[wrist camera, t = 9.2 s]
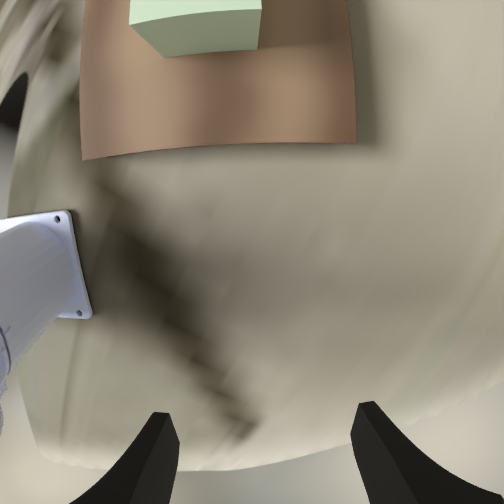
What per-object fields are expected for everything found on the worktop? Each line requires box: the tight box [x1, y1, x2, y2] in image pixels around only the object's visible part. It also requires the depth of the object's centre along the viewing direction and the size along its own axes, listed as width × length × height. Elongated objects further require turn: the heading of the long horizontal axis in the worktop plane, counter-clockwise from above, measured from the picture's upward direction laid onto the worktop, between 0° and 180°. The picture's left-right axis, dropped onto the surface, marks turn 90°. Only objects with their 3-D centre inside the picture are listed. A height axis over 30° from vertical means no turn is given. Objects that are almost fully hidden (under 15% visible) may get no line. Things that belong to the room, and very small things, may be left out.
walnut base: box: [80, 0, 356, 161], centre depth 13 cm, size 14×14×3 cm
